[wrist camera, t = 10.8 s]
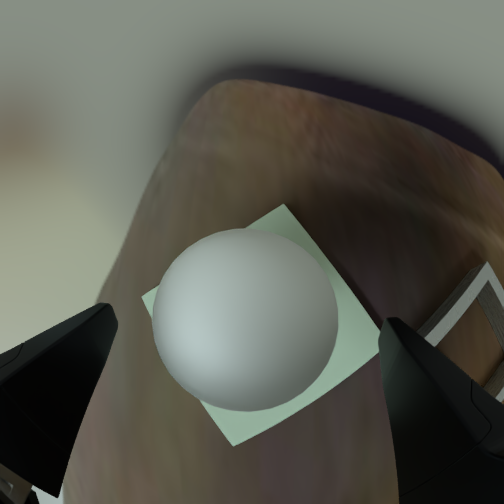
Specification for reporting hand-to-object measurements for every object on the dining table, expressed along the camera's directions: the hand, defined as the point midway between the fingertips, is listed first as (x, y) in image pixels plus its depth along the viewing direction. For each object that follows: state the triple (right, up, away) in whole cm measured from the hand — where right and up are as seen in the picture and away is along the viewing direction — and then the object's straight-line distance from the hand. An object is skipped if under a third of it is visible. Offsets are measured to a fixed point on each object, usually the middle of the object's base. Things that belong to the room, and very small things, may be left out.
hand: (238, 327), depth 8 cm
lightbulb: (+1, -2, +9) cm, 9 cm away
